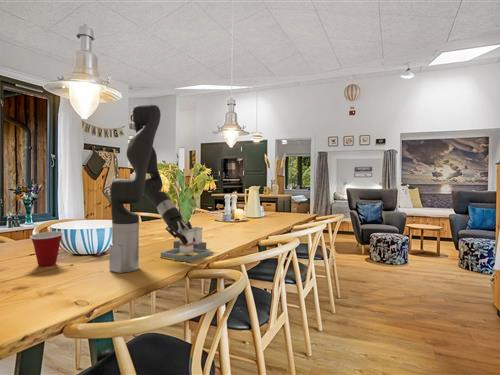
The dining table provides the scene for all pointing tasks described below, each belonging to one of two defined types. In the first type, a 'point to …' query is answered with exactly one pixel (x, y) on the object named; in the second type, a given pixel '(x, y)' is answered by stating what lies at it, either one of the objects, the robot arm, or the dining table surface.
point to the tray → (187, 258)
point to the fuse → (197, 235)
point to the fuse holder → (196, 246)
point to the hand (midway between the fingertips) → (190, 242)
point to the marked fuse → (189, 236)
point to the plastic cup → (46, 247)
